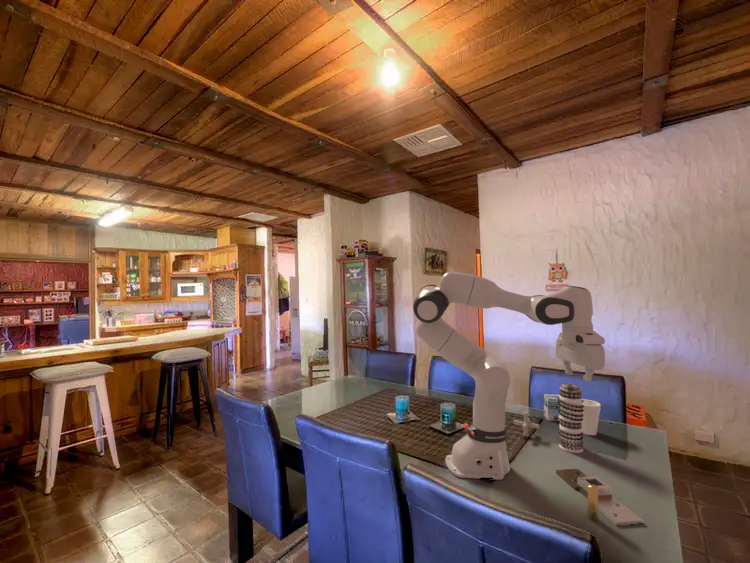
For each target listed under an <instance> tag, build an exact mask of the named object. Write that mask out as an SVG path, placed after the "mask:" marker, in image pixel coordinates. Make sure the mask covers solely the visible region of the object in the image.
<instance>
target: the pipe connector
mask: <svg viewBox="0 0 750 563" xmlns="http://www.w3.org/2000/svg"><path fill="white" fill-rule="evenodd" d="M513 425H517V426H520V427H521V426H522V427H521V428H522V430H523V436H524V435H525V436H527V437H526V438H528V437H529V431H530V430H529V428H530V429H531V428H532V429H536V430H539V429H540V424H537V423H534V422H533V423H532V422H531V419H530V418H529V412H528V411H524V412H523V421H522V420H517V419H513ZM525 436H524V437H525Z"/></svg>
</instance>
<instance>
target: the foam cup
mask: <svg viewBox="0 0 750 563" xmlns="http://www.w3.org/2000/svg"><path fill="white" fill-rule="evenodd" d="M582 400H583V402H581V404H582V405H583V406H584V407H583V408H582V409H583V410H584V411H583V412H581V414H583V415H584V416H583V417H581V418H583V421H582V422H581V423H582V426H581V427H582V432H583V435H588V436H596V435H597V433H598V425H599V418H600V412H601V405H602V404H601V403H600V402H598V401H596V400H591V399H586V398H582Z"/></svg>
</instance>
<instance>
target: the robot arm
mask: <svg viewBox="0 0 750 563" xmlns="http://www.w3.org/2000/svg"><path fill="white" fill-rule="evenodd" d="M452 303H453V304H454V303H455V304H459V305H460V304H461V305H464V306H467V307H471V308H477V309H491V308H502V309H506V310H510V311H514V312H518V313H521V314H523V315H525V316H526V317H528V318H529V319H530V320H532V321H533V322H536V323H540V324H543V325H547V326H555V325H561V332H559V334H558V335H557V339H556V342H555V349H554V350H555V353H554V354H555V356H556V358H557V359H560V360H562V365H563V366H564V373H565V374H567V375H573V374H574V371H573V370H574V369H573V368H572V366H571V364H574V365H578V366H580V367H582V368H583V367H584V371H585V374H582V377H583V381H584V382H587V383H591V382H592V380H593V379H592V378H593V375H594V373H595V371H599V370H601V371H602V370H603V369H604V368H605V365H606V362H605V361H606V360H605V359H606V356H605V348H604V346H603V345H604V344H605V343H606V342H605V340H606V339H605V337H603V336H602V335H600V334H599V333H597V331H595V330H594V325H593V321H592V320H593V318H592V317H593V314H594V308H593V306H594V305H593V298H592V293H591V291H590V290H589V289H587V288H585V287H582V286H576V285H566V286H564V287H563V288H562V289H559V290H558V291H556V292H553V293H550V294H548V295H544V294H536V295H530V296H529V295H523V294H519V293H515V292H511V291H508V290H505V289H503V288H501V287H500V286H498V285H497V284H496V283H495V282H494V281H492V280H491V279H488V278H486V277H483V276H480V275H476V274H472V273H465V272H460V271H459V272H458V271H448V272H445V273H444V274H443V275H442V276H441V278H440V280H439V283H438V285H435V284H427V285H425V286H423V287H422V288H420V290H419V291H418V292H417V294H416V295H415V298H414V301H413V304H412V310H413V313H414V316H415V317H416V318H417V320H419V322H418V324H417V326H416V334H417V336H418V338H419V339H420V340H421V341H422V342H423V343H424V345H426V346H427V347H429V349H431V350H432V351H433V352H434V353H436V354H437V355H439V356H440V357H441V358H443V359H444V360H446V361H447V362H448V363H450V364H451V365H452V366H454V367H456V368H458V369H460V370H461V371H463V372H465V373H466V374H467V375H469V376H470V377H471V378H473V380H474V383H475V388H474V397H473V400H472V423H471V424H470V425H469V423H467V422H465V423H463V428H464V429H465V431H467V434H466V435H465V436H463V437H462V438H461V439H459V440H458V441H457V442H455V443H454V444H453V446H452V450H451V454H448V455H446V457H445V462H444V463H445V465H446V467H447V469H448V470H449V472H450V473H452V475H454V476H456V477H457V478H465V479H480V478H482V477H492V478H493V479H492V480H498V481H499V480H500V481H501V480H503V479H504V478H505V476H506V474H508V473H510V471H511V465H510V462H509V458H508V452H507V442H508V441H507V439H508V438H507V436H508V435H507V434H508V433H507V427H506V402H507V396H508V390H509V388H510V384H511V377H510V373H509V371H508V369H507V367H506V366H505V365H504V364H503V363H502V362H500V360H498V359H497V358H496V357H495V356H493V355H492V354H490V353H489V352H488V351H486V350H485V349H483V348H482V347H481V346H480V345H478V344H476V343H475V342H474V341H472V340H471V339H469V338H468V337H466V336H465V335H464V334H462V333H461V332H460V331H458V330H457V329H455V328H454V327H452V326H451V325H450V324H448V322H446V321H445V320H444V318H443V315H444V314H445V313H446V312H445V311H447V309H448V308H449V305H450V304H452Z"/></svg>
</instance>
